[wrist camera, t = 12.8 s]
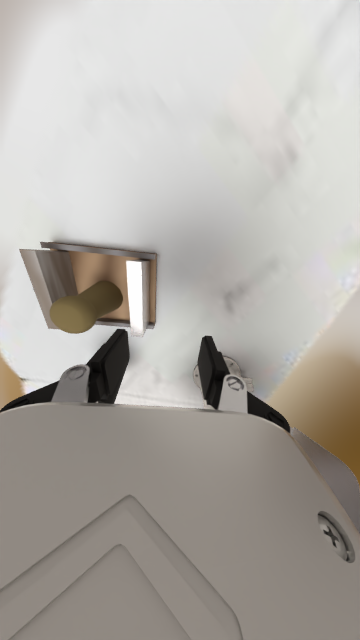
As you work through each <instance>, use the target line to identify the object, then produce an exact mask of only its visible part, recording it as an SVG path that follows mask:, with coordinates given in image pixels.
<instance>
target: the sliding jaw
mask: <svg viewBox="0 0 360 640" xmlns="http://www.w3.org/2000/svg"><path fill="white" fill-rule="evenodd" d="M126 267H127V281H128V296H129V311H130V325H131V336H138V337H143V335H144V333H145V331H146V329H147V326H148V324H149V322H150V261H148V260H139V259H138V260H128V261H126Z"/></svg>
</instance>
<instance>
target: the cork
mask: <svg viewBox="0 0 360 640" xmlns="http://www.w3.org/2000/svg"><path fill="white" fill-rule="evenodd" d="M122 302H123V295H122V293H121V290H120V289H119V288H118V287H117V286H116V285H115V284H113V283H111V282H109V281H99V282H97V283H95V284H94V285H92V286H91V287H89V288H88V289H86V290H85V291H83V292H81V293H80V294H78V295H77V296H65V297H62V298H59V299H58V300H56V301H55V302H54V303H53V304H52V306H51V308H50V318H51V320H52V322H53V323H54V324H55V325H56V326H57V327H58V328H59V329H61V330H63V331H64V332H68V333H75V334H77V333H83V332H85V331H87V330H89V329H90V328H92V327H93V325H94V324H95V322H96V321H97V319H98V318H100V317H102V316H104V315H106V314H108V313H110V312H112V311H114V310H116V309H118V308H119V307H120V306H121V305H122Z"/></svg>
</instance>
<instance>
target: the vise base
mask: <svg viewBox="0 0 360 640" xmlns="http://www.w3.org/2000/svg"><path fill="white" fill-rule="evenodd" d="M40 243H41V247H42V248H50V250H27V249H19V250H20V253H21V256H22V258H23V261H24V264H25V266H26V269H27V272H28V275H29V277H30V280H31V283H32V285H33V288H34V291H35V293H36V296H37V299H38V302H39V304H40V307H41V310H42V312H43V315H44V318H45V320H46V323H47V326H48V328H49V329H59V328H58V327H57V326H56V325H55V324H54V323H53V322H52V320H51V318H50V308H51V306H52V304H53V303H54V302H55V301H56V300H58V299H59V298H62V297H65V296H77V295H78V294H80V293H81V292H83V291H85V290H86V289H88V288H89V287H91V286H92V285H94V284H95V283H97V282H99V281H109V282H111V283H113V284H115V285H116V286H117V287H118V288H119V289H120V290H121V293H122V295H123V302H122V305H121V306H120V307H119V308H118V309H116V310H114V311H112V312H110V313H108V314H106V315H104V316H102V317H100V318H98V319H97V321H96V322H95V324H96V325H108V326H120V327H131V325H130V311H129V296H128V281H127V267H126V261H128V260H138V259H139V260H148V261H150V322H149V324H148V326H147V329H154V326H155V310H156V263H157V254H154V253H145V252H135V251H126V250H117V249H108V248H99V247H90V246H81V245H71V244H62V243H53V242H48V243H47V242H40Z"/></svg>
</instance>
